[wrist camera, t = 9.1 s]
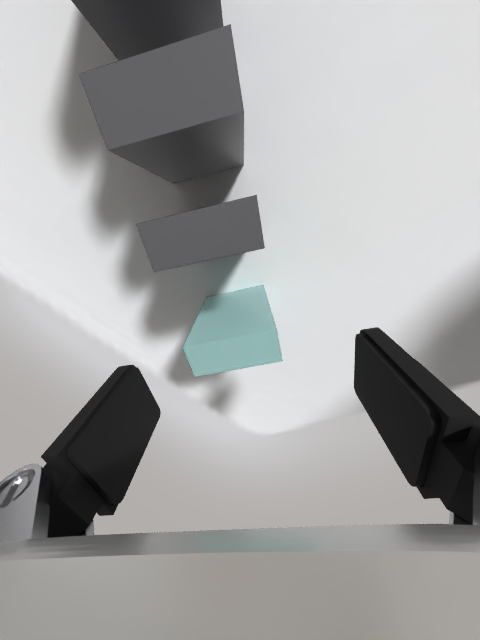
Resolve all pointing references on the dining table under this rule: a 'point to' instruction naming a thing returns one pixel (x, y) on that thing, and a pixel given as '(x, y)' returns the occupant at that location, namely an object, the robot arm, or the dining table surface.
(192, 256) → the domino
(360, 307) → the dining table surface
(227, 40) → the domino
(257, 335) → the domino teal
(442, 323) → the dining table surface
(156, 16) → the domino
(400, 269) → the dining table surface
